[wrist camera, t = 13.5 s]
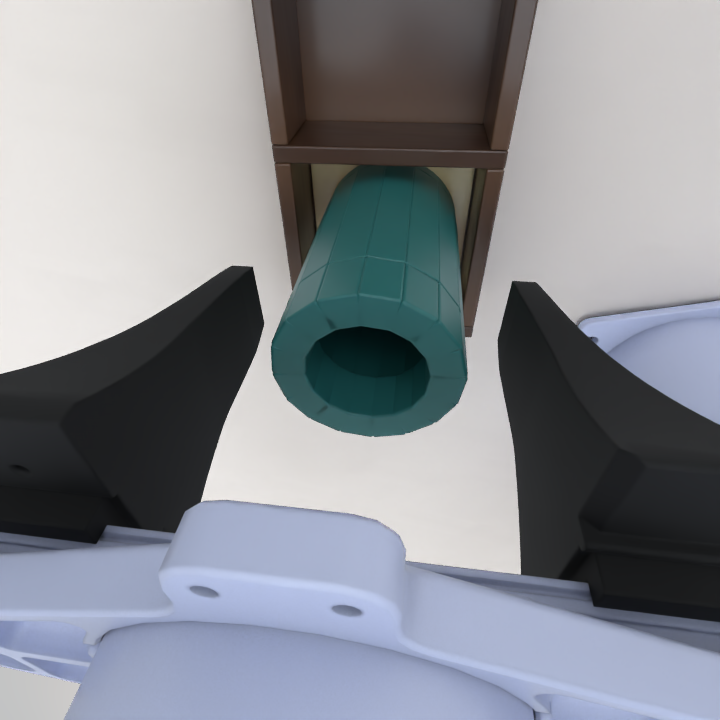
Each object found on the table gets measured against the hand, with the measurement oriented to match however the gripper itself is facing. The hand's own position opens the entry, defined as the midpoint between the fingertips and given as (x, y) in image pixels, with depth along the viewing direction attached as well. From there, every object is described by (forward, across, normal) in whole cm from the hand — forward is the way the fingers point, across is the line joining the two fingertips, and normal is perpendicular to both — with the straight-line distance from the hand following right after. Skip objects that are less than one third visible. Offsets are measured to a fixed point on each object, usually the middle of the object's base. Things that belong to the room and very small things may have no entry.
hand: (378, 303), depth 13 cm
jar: (+5, 0, 0) cm, 5 cm away
